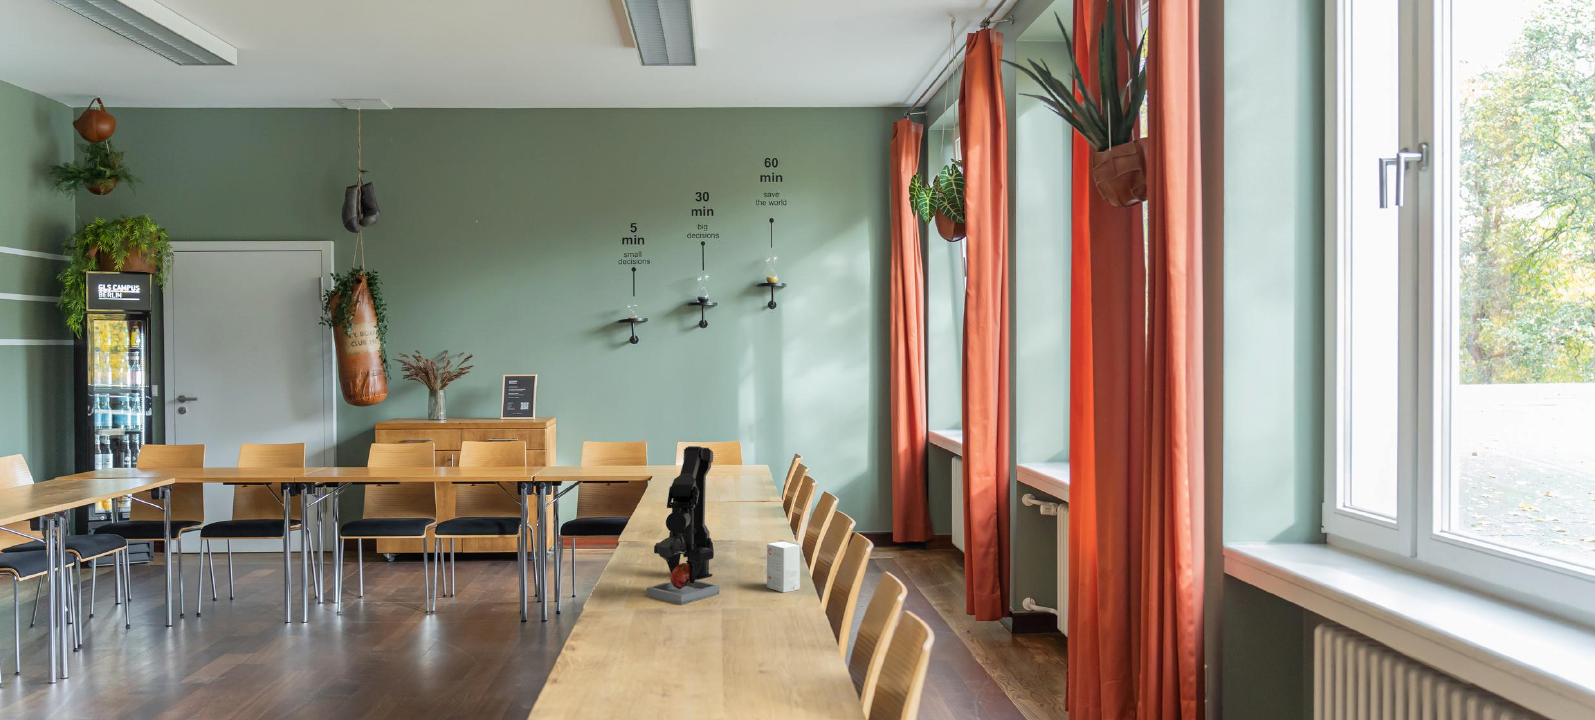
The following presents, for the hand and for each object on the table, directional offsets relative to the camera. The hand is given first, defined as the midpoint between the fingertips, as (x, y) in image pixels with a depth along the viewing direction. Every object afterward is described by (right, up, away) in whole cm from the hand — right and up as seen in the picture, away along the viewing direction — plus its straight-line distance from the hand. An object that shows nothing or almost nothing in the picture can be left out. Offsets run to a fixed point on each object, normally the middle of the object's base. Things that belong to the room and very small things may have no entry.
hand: (683, 581), depth 267 cm
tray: (0, -4, 0) cm, 4 cm away
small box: (+28, -4, +8) cm, 30 cm away
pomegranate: (0, -2, 0) cm, 2 cm away
